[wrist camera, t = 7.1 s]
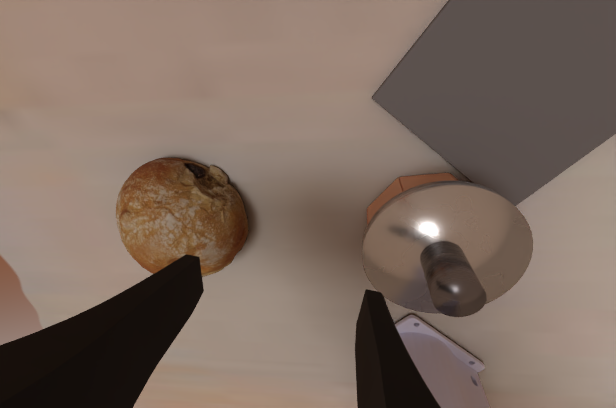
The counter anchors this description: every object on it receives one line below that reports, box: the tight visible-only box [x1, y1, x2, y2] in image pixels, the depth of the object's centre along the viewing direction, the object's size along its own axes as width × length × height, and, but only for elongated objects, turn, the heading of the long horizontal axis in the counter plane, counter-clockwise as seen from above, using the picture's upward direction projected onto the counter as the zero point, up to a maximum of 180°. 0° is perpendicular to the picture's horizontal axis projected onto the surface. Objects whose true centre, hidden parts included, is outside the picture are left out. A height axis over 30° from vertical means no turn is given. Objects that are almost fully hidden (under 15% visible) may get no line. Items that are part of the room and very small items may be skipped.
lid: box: [362, 181, 533, 317], centre depth 15 cm, size 9×9×4 cm
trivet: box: [372, 0, 616, 206], centre depth 15 cm, size 12×12×1 cm
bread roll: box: [116, 158, 249, 277], centre depth 22 cm, size 10×10×8 cm
